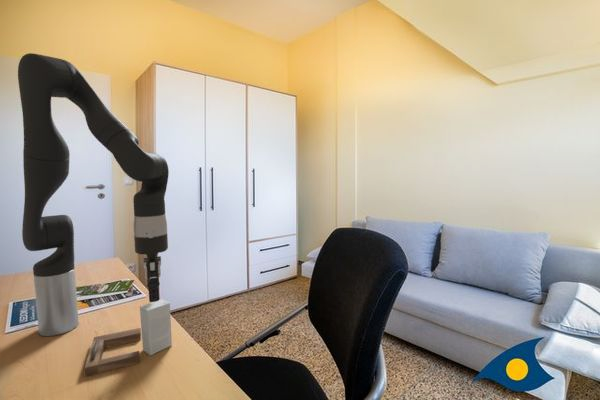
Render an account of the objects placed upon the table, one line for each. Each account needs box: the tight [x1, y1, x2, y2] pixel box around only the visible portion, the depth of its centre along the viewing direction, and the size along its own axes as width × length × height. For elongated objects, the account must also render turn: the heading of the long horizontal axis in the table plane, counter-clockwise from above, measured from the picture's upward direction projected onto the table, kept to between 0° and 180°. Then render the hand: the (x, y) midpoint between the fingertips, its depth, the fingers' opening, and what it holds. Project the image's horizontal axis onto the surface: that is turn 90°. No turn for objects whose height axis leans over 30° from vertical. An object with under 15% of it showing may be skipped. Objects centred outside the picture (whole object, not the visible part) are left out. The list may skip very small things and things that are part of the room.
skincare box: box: [139, 298, 173, 356], centre depth 80 cm, size 6×4×12 cm
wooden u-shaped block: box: [83, 327, 142, 377], centre depth 78 cm, size 14×11×3 cm
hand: (154, 294), depth 79 cm, fingers open, 8 cm apart
